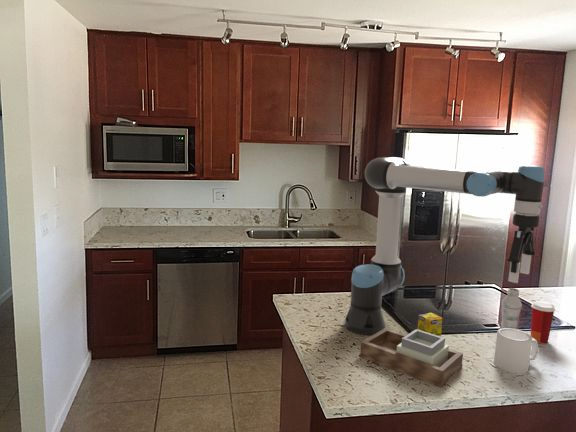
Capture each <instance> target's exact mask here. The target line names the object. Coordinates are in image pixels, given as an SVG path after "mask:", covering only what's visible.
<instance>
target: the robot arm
mask: <svg viewBox="0 0 576 432" xmlns="http://www.w3.org/2000/svg"><path fill="white" fill-rule="evenodd" d="M545 172H546V170H545V167H543V166H541V165H525V164H522V165H519V167H518V170H504V169H495V168H494V169H493V168H488V169H487V168H483V169H481V170H474V169H473V170H470V169H469V170H468V169H457V168H445V167H444V168H442V167H428V166H416V165H411V164H410V163H409V162H408V161H407V160H406V159H404V158H402V157H397V156H390V157H389V156H388V157H386V156H385V157H376V158H374V159H372V160H370V161H369V162H368V163H367V165H366V167H365V168H364V179H365V181H366V182H367V184H368V185H369V186H370V187H371V188H374V189H375V193H376V194H377V195H378V209H377V226H376V244H375V255H373V257H372V258H371V259H370V261H371V263H369V264H368V263H367V264H360V265H357V266H356V267H354V268H353V270H352V272H351V273H352V274H351V281H350V282H351V286H350V287H351V289H350V304H349V305H350V306H349V309H348V311H347V314H346V316H345V320H344V326H345V328H346V329H347V330H349V331H350V332H352V333H355V334H358V335H359V334H360V335H368V336H369V335H374V334H376V333H377V332H379V331H381V330H383V329H384V328H386V327H385V325H386V322H385V319H384V315H383V311H382V299H383V297H384V296H386V295H387V294H390V293H391V292H392V293H393V292H395V291H396V290H398V289H399V288H400V287H401V286H402V285H403V284H404V282H405V278H406V277H405V270H404V268H403V267H402V260H401V259H400V258H399V257H398V254H399V239H400V228H401V227H400V224H401V213H402V212H401V210H402V209H401V208H402V198H403V196H404V195H406V193H407V188H408V189H416V190H417V189H418V190H426V191H427V190H429V191H438V192H447V193H457V194H467V195H472V196H475V197H483V198H484V197H487V196H490V195H493V194H509V195H515V200H514V207H513V212H514V214H512V215H513V216H512V225H514V227H515V226H516V227H518V230H514V235H513V240H512V244H511V248H510V253H509V256H508V258H507V262H509V271H508V278H507V282H509V283H510V282H511V283H514V284H518V283H519V276H520V274H524V275H530V272H531V271H530V270H531V262H532V256H534V255H535V252H534V251H535V250H534V248H535V247H534V246H535V245H534V240H535V239H534V232H535V231H534V230H535V229H536V228H538V227H539V225H540V214H541V209H542V208H544V205H542V200H543V199H542V197H543V191H544V184H545Z"/></svg>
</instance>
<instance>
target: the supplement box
mask: <svg viewBox="0 0 576 432" xmlns="http://www.w3.org/2000/svg"><path fill="white" fill-rule="evenodd" d="M442 328H443V317H441V316H439V315H438V314H436V313H433V312H428V313H427V312H426V313H422V314H418V319H417V330H421V331H424V332H427V333H430V334H434V335H437V336H440V337H442Z"/></svg>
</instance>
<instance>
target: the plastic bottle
mask: <svg viewBox="0 0 576 432" xmlns="http://www.w3.org/2000/svg"><path fill="white" fill-rule="evenodd" d="M506 294H507V295H506V296H505V297H504V298H503V299H502V300H501V323H500V328H499V329H502V328H511V329H517V330H519V320H520V319H519V318H520V314H521V311H522V307H523V304H522V303H523V302H521V299H520V297H519V296H520V289H518V288H515V287H508V288H507V292H506Z"/></svg>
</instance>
